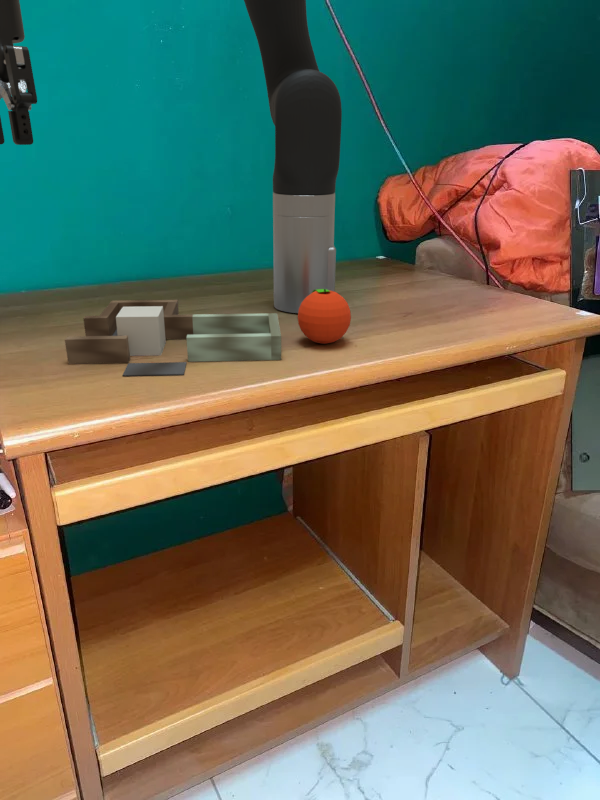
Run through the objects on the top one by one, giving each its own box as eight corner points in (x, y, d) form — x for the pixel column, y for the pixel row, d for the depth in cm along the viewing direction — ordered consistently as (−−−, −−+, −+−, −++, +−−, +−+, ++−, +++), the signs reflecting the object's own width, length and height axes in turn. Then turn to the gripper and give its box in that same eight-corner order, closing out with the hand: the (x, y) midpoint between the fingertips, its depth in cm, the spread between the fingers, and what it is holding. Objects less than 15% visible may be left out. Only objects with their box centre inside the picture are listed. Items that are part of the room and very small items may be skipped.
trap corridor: (274, 318, 93) (274, 298, 92) (283, 373, 72) (283, 348, 71) (101, 321, 91) (98, 300, 90) (57, 377, 70) (53, 352, 69)
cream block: (165, 343, 82) (163, 306, 80) (161, 355, 78) (158, 316, 76) (126, 344, 82) (123, 306, 80) (119, 356, 77) (115, 317, 75)
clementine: (286, 335, 86) (286, 283, 83) (333, 330, 88) (334, 279, 85) (309, 353, 79) (310, 297, 76) (359, 347, 81) (361, 292, 78)
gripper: (42, -11, 71) (64, 144, 77) (-9, 6, 80) (14, 143, 86) (-27, -22, 66) (2, 145, 72) (-73, -3, 75) (-43, 144, 81)
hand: (9, 144), depth 79 cm, fingers open, 8 cm apart
